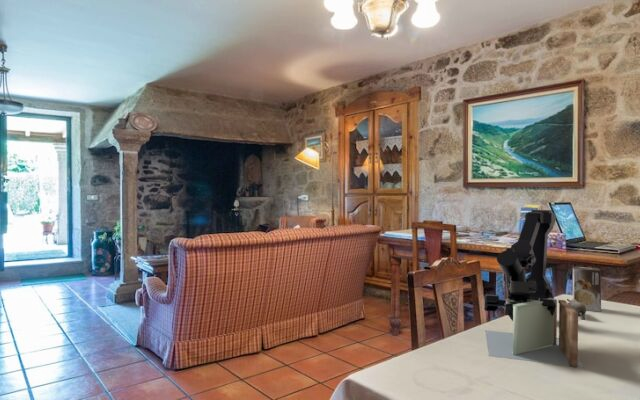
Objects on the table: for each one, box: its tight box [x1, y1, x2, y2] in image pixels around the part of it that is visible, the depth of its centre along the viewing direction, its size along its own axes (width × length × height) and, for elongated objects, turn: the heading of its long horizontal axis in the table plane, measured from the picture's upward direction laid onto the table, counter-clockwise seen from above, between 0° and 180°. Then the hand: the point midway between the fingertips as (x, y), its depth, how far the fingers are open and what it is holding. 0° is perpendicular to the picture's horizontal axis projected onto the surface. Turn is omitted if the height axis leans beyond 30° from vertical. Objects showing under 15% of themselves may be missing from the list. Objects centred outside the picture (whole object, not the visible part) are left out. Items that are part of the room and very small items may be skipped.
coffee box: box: [572, 266, 602, 313], centre depth 162 cm, size 9×6×16 cm
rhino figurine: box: [566, 298, 587, 321], centre depth 153 cm, size 4×14×6 cm, turn 166°
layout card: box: [484, 329, 585, 369], centre depth 120 cm, size 23×22×1 cm
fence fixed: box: [557, 299, 579, 368], centre depth 112 cm, size 16×2×14 cm, turn 161°
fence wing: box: [512, 298, 558, 355], centre depth 117 cm, size 2×18×14 cm, turn 118°
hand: (520, 331), depth 116 cm, fingers closed, pressing on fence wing
